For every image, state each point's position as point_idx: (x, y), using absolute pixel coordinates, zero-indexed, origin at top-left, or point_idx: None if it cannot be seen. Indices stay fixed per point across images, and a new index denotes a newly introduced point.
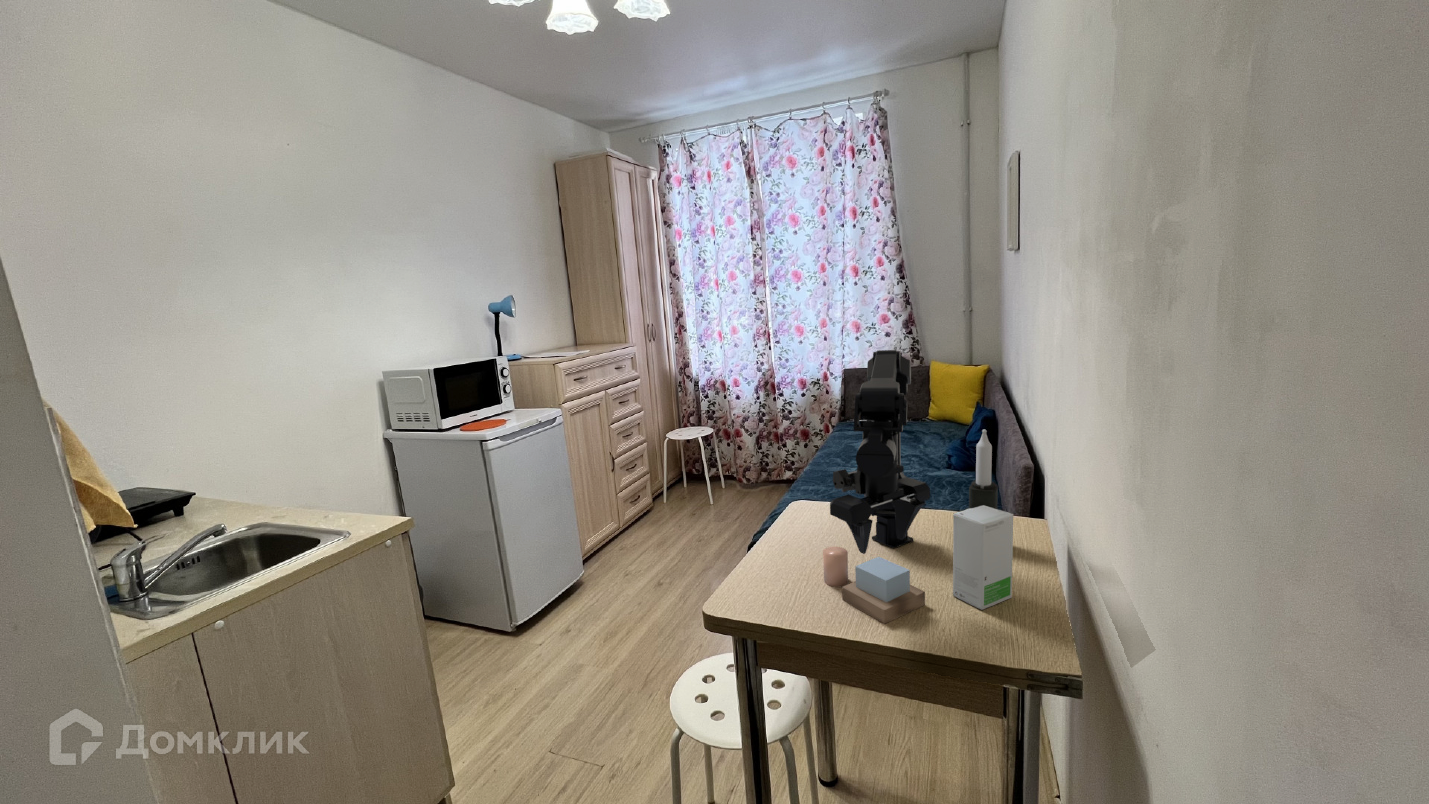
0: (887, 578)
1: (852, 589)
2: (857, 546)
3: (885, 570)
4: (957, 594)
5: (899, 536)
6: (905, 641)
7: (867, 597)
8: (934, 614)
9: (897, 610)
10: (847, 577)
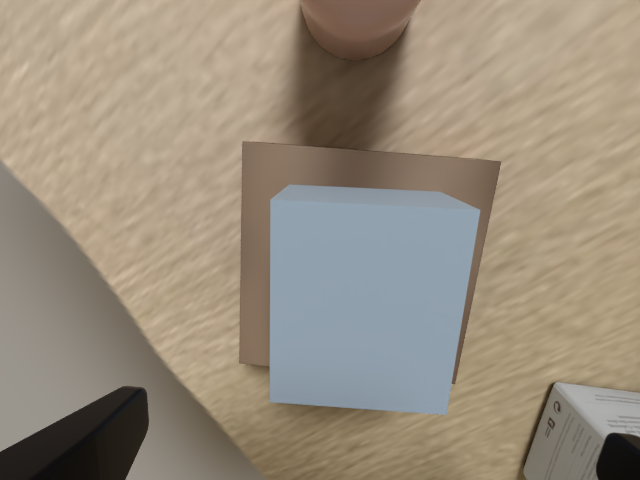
0: (293, 393)
1: (261, 189)
2: (68, 417)
3: (355, 341)
4: (553, 409)
5: (620, 473)
6: (232, 415)
7: (260, 272)
8: None
9: None
10: (379, 48)
